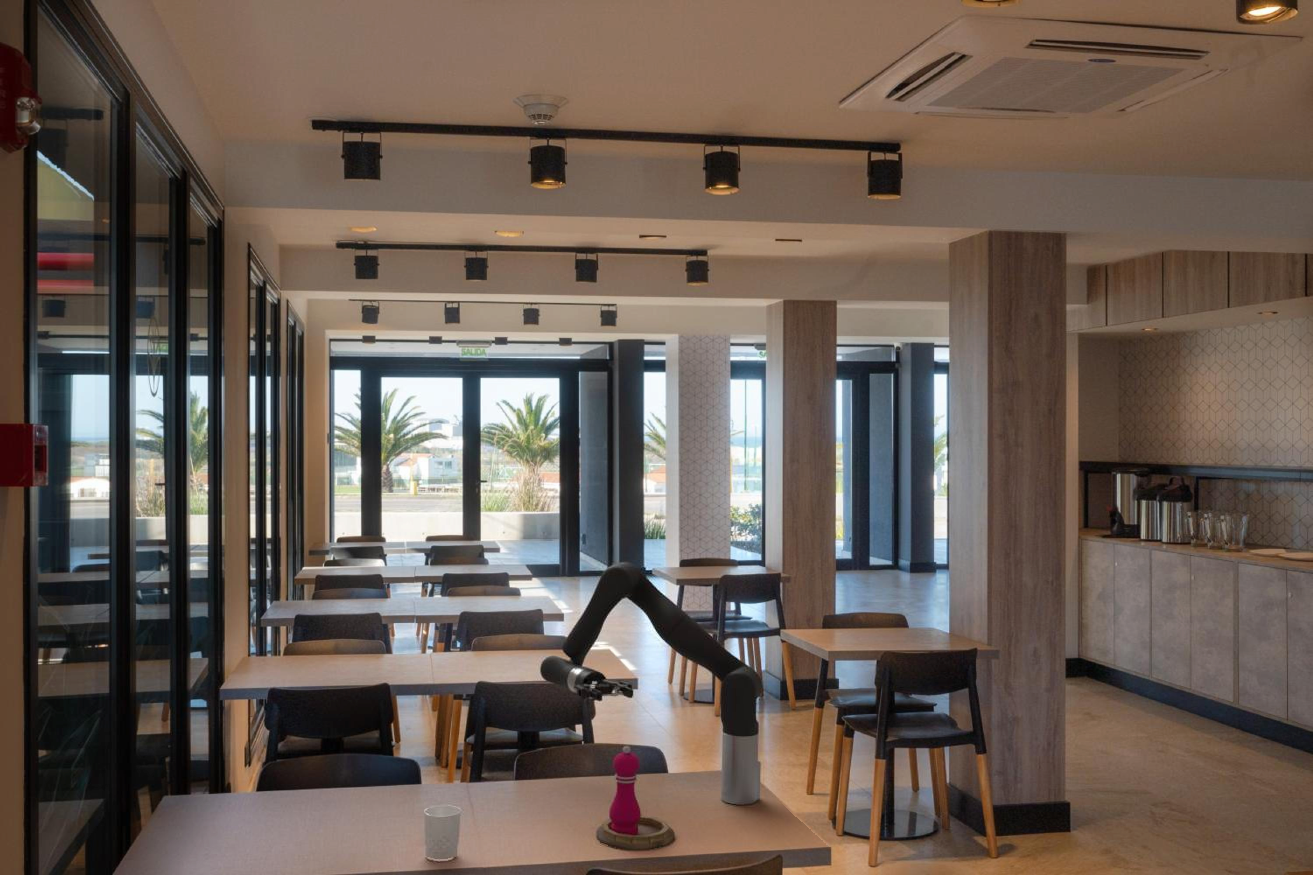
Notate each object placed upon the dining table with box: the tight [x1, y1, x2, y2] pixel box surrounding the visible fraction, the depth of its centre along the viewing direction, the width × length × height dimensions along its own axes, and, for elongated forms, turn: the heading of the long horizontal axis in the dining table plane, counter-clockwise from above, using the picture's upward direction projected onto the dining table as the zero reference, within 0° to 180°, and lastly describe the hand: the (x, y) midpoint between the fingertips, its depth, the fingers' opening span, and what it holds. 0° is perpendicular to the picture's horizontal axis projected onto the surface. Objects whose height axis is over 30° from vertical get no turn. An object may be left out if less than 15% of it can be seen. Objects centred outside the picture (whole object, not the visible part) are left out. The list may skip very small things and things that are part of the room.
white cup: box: [423, 804, 462, 859], centre depth 255 cm, size 8×8×10 cm
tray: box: [595, 814, 675, 851], centre depth 270 cm, size 18×18×2 cm
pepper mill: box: [608, 745, 642, 835], centre depth 270 cm, size 7×7×20 cm
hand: (616, 695), depth 291 cm, fingers open, 8 cm apart
